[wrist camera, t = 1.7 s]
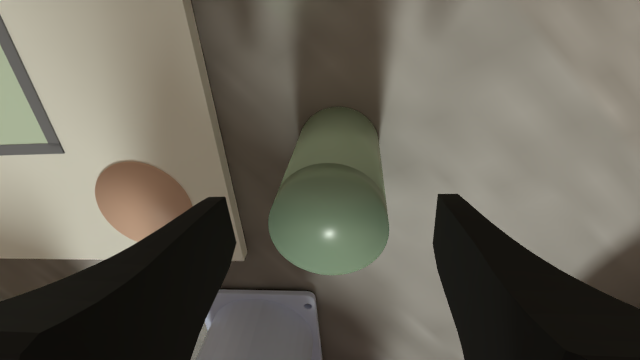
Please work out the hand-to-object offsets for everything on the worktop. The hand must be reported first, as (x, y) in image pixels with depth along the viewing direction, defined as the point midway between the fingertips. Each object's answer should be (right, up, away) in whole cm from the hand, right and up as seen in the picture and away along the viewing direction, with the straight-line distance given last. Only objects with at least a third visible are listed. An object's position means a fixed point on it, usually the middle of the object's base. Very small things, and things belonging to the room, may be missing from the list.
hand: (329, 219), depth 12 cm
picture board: (-15, +5, +7) cm, 17 cm away
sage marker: (+1, +3, +6) cm, 7 cm away
